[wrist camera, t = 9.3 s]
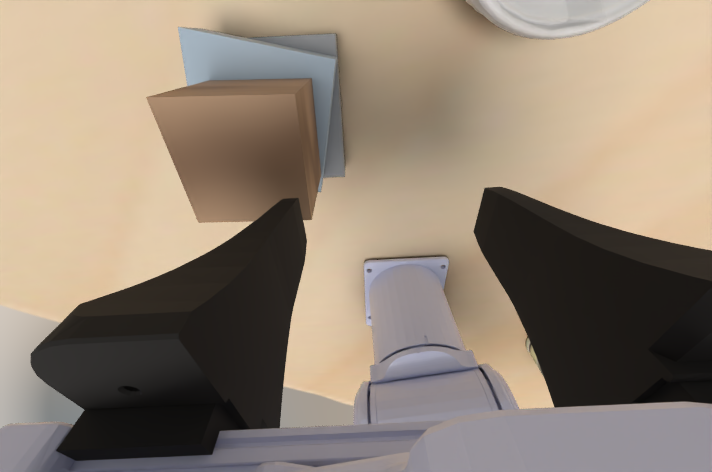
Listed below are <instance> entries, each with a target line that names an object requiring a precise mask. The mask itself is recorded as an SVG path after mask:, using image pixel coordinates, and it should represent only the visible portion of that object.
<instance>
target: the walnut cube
mask: <svg viewBox="0 0 712 472" xmlns="http://www.w3.org/2000/svg"><path fill="white" fill-rule="evenodd" d="M146 98H147V100H148V103H149V105H150V108H151V110H152V112H153V115H154V117H155V120H156V122H157V124H158V127H159V129H160V131H161V134H162V136H163V139H164V141H165V143H166V146H167V148H168V151H169V153H170V155H171V158H172V160H173V163H174V165H175V167H176V170H177V172H178V174H179V177H180V179H181V182H182V184H183V186H184V189H185V191H186V194H187V196H188V198H189V201H190V203H191V206H192V208H193V210H194V213H195V215H196V217H197V220H198V222H199V223H202V222H243V221H256V220H257V219H258V218H259V217H261V216H262V215H263V214H264V213H265V212H267V211H268V210H269V209H270V208H271V207H273V206H274V205H275V204H276V203H278V202H279V201H280V200H282V199H287V198H299V202H300V208H301V213H302V218H303V220H312V215H313V211H314V206H315V201H316V197H317V192H318V188H319V183H320V178H321V168H320V157H319V147H318V137H317V127H316V116H315V106H314V96H313V85H312V78H295V79H250V80H209V81H205V82H201V83H198V84H194V85H190V86H186V87H183V88H179V89H175V90H172V91H168V92H164V93H161V94H157V95H153V96H150V97H146Z"/></svg>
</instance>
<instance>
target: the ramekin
mask: <svg viewBox="0 0 712 472" xmlns="http://www.w3.org/2000/svg"><path fill="white" fill-rule="evenodd" d="M465 1H466V2H467V3H468V4H469V5H471V6H472V7H473V8H474V9H475V11H477V12H478V13H481V14H482V15H484V16H485V17H486V18H487V19H488V20H489V21H490V22H492V23H493V24H495V25H496V26H498V27H499V28H501V29H503V30H505V31H507V32H510V33H512V34H514V35H518V36H521V37H526V38H531V39H561V38H568V37H574V36H578V35H582V34H586V33H589V32H592V31H595V30H597V29H600V28H602V27H604V26H607V25H609V24H611V23H613V22H615V21H617V20H619V19H621V18H623V17H625V16H626V15H628V14H629V13H631V12H633V11H634V10H636V9H638V8H639V7H641V6H642V5H644V4H645V3H647V2H648V1H649V0H465Z"/></svg>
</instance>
